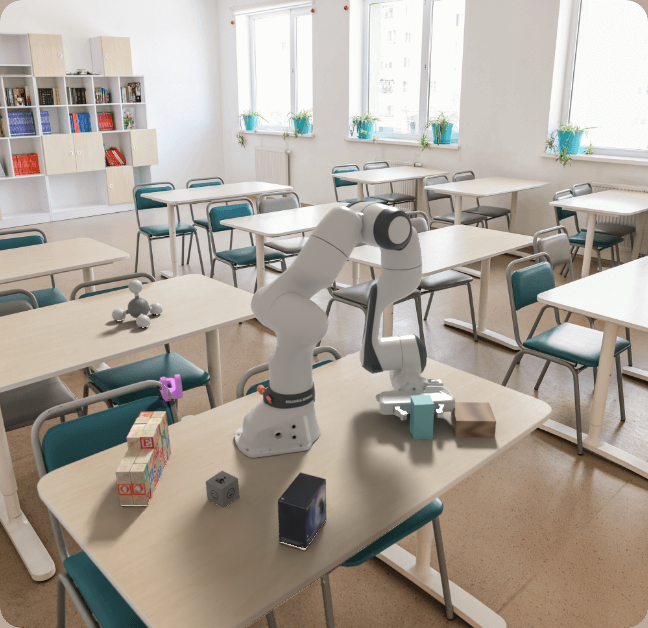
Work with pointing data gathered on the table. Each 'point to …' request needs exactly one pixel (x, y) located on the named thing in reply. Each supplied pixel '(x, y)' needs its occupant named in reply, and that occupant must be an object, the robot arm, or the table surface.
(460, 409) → the walnut base
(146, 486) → the stack of blocks
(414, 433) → the teal pillar
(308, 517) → the small box
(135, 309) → the molecule model
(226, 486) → the dice cube
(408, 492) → the table surface
